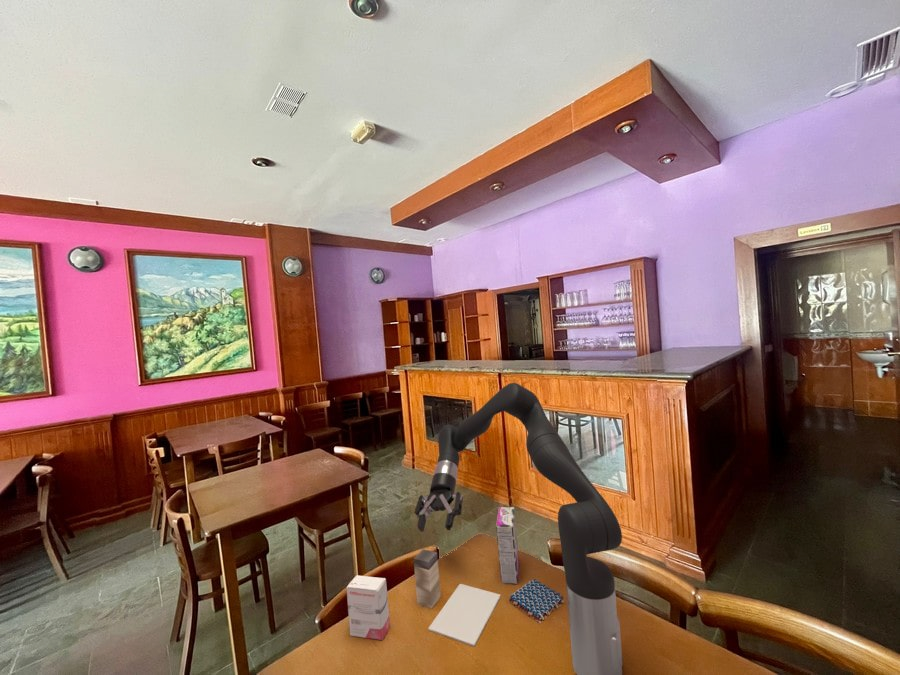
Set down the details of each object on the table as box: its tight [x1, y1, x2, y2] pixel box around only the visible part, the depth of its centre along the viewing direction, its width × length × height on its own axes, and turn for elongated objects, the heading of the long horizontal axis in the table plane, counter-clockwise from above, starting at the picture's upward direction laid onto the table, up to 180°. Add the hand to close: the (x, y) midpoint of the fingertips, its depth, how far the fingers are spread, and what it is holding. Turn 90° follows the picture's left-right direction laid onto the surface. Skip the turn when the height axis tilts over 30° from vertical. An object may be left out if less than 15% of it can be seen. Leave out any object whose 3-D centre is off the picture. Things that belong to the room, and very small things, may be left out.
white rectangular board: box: [427, 583, 502, 647], centre depth 92 cm, size 12×17×1 cm
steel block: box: [413, 548, 441, 610], centre depth 97 cm, size 4×4×12 cm
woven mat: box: [508, 578, 565, 624], centre depth 93 cm, size 10×11×2 cm
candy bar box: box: [495, 506, 520, 585], centre depth 106 cm, size 11×5×16 cm, turn 168°
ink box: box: [346, 575, 391, 641], centre depth 88 cm, size 9×5×12 cm, turn 74°
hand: (433, 529), depth 103 cm, fingers open, 8 cm apart
